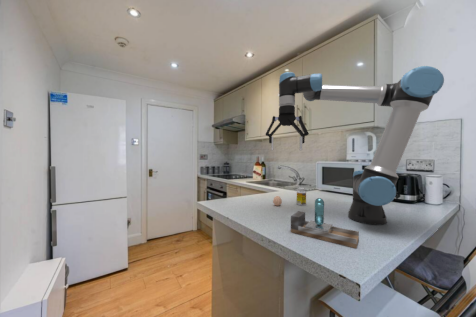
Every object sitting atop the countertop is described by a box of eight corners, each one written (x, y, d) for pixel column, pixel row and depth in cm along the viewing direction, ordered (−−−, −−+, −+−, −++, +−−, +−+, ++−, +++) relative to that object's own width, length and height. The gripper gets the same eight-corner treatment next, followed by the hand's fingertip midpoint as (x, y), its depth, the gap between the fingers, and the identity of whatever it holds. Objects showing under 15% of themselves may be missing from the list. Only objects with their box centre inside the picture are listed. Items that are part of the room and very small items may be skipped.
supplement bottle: (302, 206, 116) (302, 189, 116) (294, 204, 121) (294, 187, 121) (307, 204, 119) (308, 188, 119) (300, 203, 124) (300, 187, 124)
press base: (290, 232, 76) (290, 215, 76) (298, 226, 82) (298, 211, 82) (356, 248, 63) (356, 228, 63) (358, 239, 69) (359, 221, 69)
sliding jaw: (305, 230, 73) (305, 198, 73) (310, 225, 79) (311, 195, 79) (328, 235, 68) (328, 201, 68) (332, 229, 74) (332, 198, 74)
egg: (276, 204, 120) (276, 194, 120) (283, 205, 117) (283, 196, 117) (271, 205, 117) (271, 195, 117) (278, 207, 113) (278, 197, 113)
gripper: (311, 107, 96) (310, 150, 97) (260, 108, 99) (260, 150, 99) (315, 103, 89) (315, 150, 89) (261, 105, 92) (260, 149, 92)
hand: (286, 150), depth 94 cm, fingers open, 13 cm apart
